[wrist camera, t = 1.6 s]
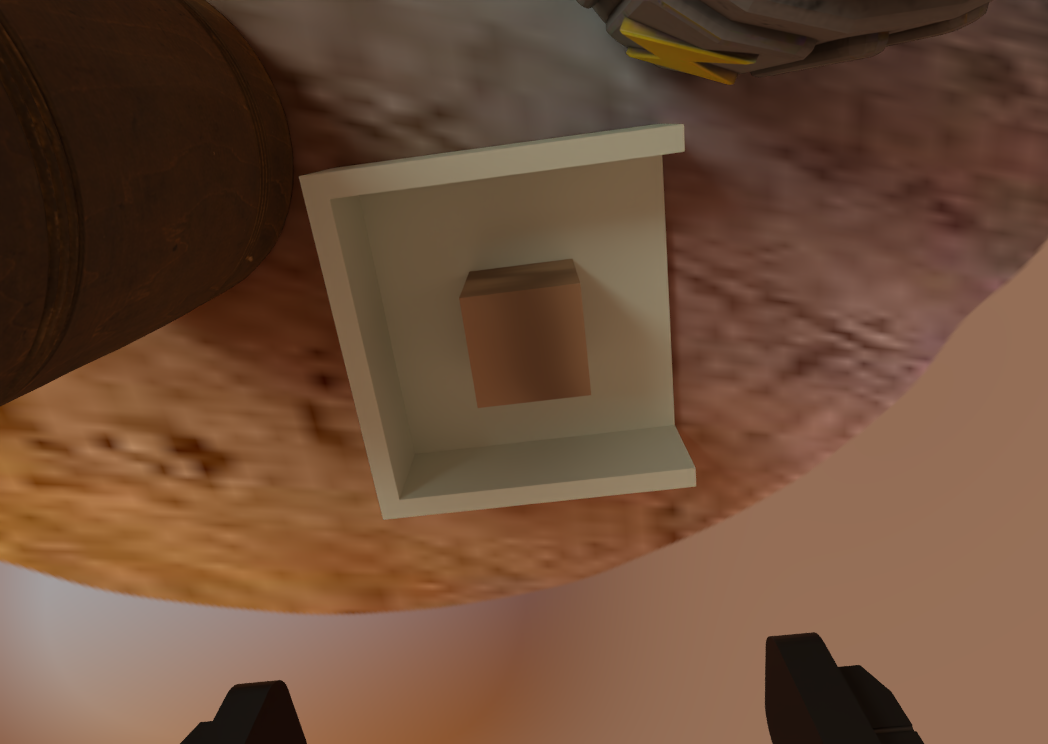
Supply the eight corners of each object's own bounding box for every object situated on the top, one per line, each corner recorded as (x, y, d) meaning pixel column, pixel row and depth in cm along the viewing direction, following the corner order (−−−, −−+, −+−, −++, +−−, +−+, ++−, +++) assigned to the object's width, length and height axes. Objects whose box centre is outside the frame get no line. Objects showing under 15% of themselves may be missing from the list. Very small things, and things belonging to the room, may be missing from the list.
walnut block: (484, 367, 33) (477, 407, 28) (469, 271, 31) (458, 298, 26) (582, 355, 32) (591, 394, 28) (572, 258, 31) (580, 283, 26)
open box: (402, 467, 35) (383, 519, 31) (334, 167, 30) (298, 176, 25) (673, 437, 35) (696, 486, 30) (658, 123, 29) (683, 124, 24)
